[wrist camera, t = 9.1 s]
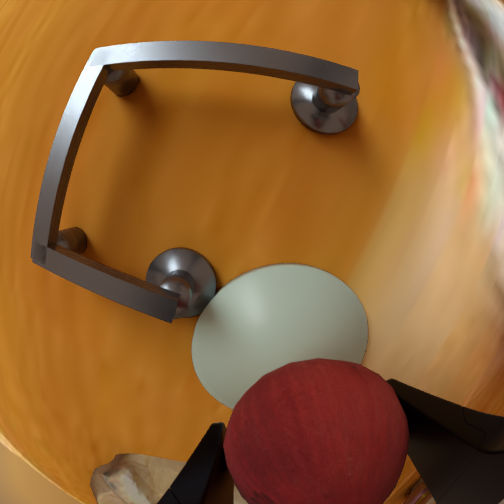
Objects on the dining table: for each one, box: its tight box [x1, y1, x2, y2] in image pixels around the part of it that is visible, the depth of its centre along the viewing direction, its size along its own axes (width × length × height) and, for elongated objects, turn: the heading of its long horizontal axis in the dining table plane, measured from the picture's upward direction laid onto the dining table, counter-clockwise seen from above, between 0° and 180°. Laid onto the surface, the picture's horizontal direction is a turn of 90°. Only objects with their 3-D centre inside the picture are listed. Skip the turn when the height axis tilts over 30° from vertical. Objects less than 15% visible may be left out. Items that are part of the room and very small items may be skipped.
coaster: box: [192, 263, 368, 410], centre depth 13 cm, size 9×9×1 cm
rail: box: [31, 41, 360, 323], centre depth 10 cm, size 15×12×3 cm
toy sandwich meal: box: [403, 478, 435, 504], centre depth 18 cm, size 12×14×5 cm
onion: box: [223, 358, 409, 504], centre depth 7 cm, size 6×6×8 cm
